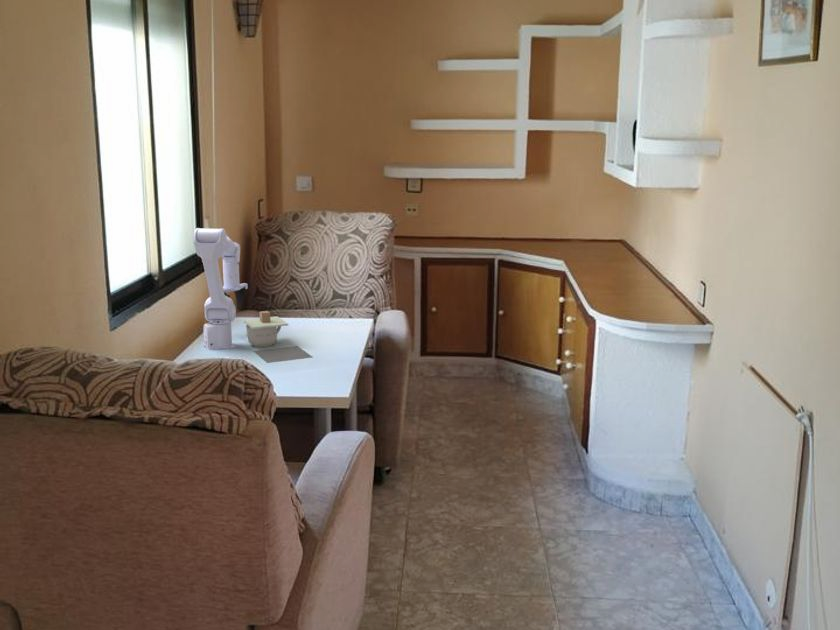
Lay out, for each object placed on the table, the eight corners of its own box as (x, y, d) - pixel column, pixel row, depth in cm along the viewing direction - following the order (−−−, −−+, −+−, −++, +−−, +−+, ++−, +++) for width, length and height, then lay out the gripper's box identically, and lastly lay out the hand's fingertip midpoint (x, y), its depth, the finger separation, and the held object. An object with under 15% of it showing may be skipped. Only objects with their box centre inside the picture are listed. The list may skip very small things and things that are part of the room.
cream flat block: (252, 329, 292) (252, 317, 291) (242, 321, 303) (241, 310, 302) (288, 325, 297) (288, 314, 297) (277, 317, 309) (276, 306, 308)
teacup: (256, 351, 294) (255, 328, 292) (241, 344, 302) (240, 323, 300) (290, 344, 303) (290, 323, 301) (275, 338, 311) (274, 317, 309)
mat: (267, 363, 278) (267, 362, 278) (253, 352, 292) (253, 351, 292) (313, 358, 285) (313, 357, 285) (297, 347, 299) (297, 346, 299)
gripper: (224, 278, 301) (226, 315, 305) (253, 272, 313) (254, 308, 316) (210, 276, 305) (212, 313, 308) (239, 271, 317) (240, 306, 320)
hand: (232, 310), depth 313 cm, fingers open, 7 cm apart
